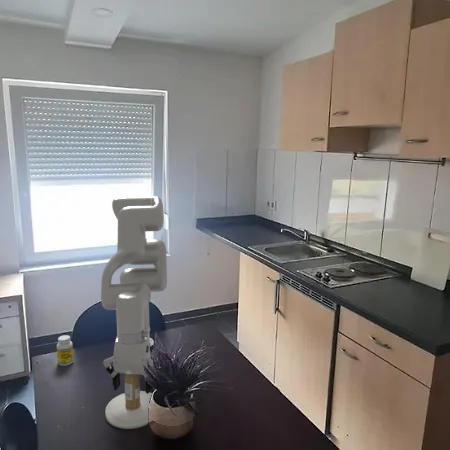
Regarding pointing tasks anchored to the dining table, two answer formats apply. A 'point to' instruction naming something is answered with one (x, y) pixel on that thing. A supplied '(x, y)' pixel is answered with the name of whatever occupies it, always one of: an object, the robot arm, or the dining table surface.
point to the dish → (128, 412)
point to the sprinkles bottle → (132, 391)
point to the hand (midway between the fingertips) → (132, 389)
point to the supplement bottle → (65, 350)
